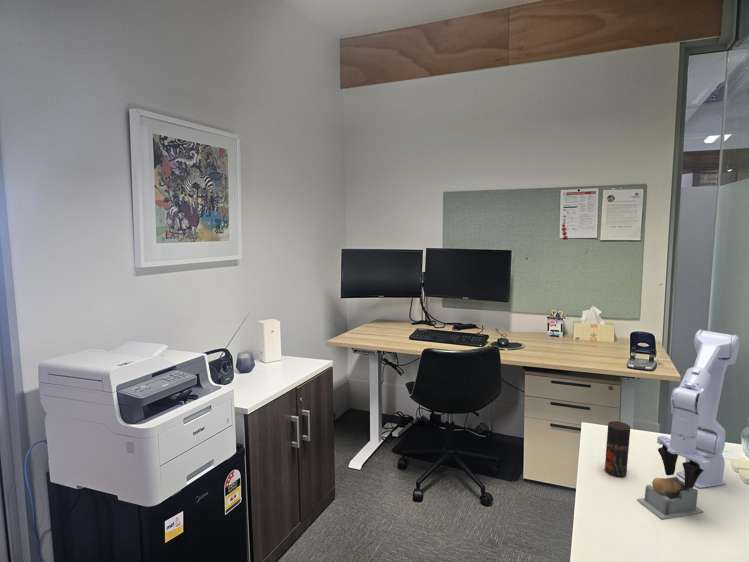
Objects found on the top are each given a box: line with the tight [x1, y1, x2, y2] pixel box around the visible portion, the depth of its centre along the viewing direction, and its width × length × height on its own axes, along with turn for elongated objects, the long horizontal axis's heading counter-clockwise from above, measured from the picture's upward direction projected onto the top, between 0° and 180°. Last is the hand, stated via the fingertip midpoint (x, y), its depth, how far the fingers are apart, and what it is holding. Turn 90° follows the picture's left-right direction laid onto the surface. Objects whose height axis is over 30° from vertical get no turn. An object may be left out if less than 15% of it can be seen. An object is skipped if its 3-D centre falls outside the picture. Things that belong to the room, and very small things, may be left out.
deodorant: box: [604, 420, 631, 479], centre depth 145 cm, size 6×6×15 cm
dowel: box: [651, 477, 682, 494], centre depth 128 cm, size 4×4×6 cm
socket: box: [636, 476, 704, 520], centre depth 129 cm, size 13×8×6 cm, turn 103°
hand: (679, 480), depth 129 cm, fingers open, 6 cm apart
